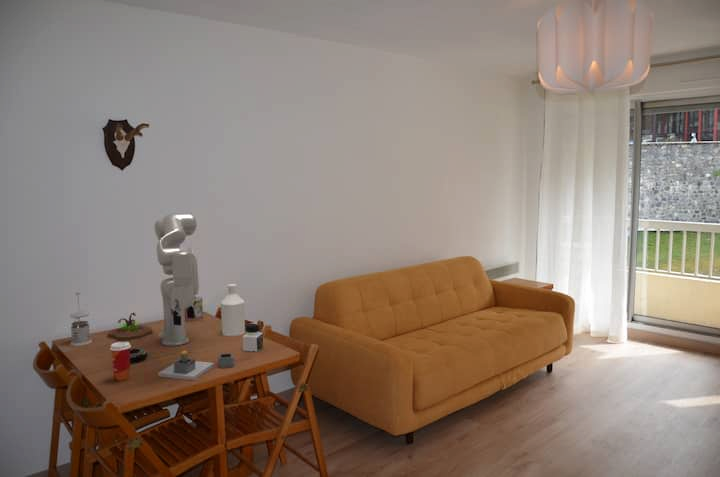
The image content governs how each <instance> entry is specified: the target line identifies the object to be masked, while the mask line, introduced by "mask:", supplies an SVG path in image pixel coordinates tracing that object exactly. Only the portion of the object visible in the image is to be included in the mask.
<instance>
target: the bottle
mask: <svg viewBox="0 0 720 477" xmlns="http://www.w3.org/2000/svg"><path fill="white" fill-rule="evenodd" d="M237 287H238V285H237V284H235V283H231V284H227V290H228V291H227V292H228V294H227V295H226V296H225V297H224V299H222V300H221V302H220V315H221V317H220V318H221V334H222V336H226V337H238V336H243V335H245V334H246V321H245V320H246V317H245V314H246V312H245V311H246V310H245V307H246V306H245V303H246V302H245V300H244V299H243V298H242V297H240V295H239V294H238V293H237Z"/></svg>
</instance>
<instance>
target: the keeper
mask: <svg viewBox="0 0 720 477" xmlns="http://www.w3.org/2000/svg"><path fill="white" fill-rule="evenodd" d="M180 359H181V363H187V362H188V360H187V359H188V351H187V350H182V351H180ZM214 367H215V363H214V362H206V361H200V360H199V361H198V360H197V361H196V360H195V369H194V370H193V371H191V372H189V373H188V374H183V373H174V363H173V364H171V365H169V366H168V367H166V368H164V369H163V370H161V371H159V372H157V377H159V378H169V379H177V380H178V379H179V380H185V381H187V380H188V381H195V380H196V379H198V378H199V377H201V376H202V375H203V374H205V373H206V372H208V371H210V370H212V369H213V368H214Z"/></svg>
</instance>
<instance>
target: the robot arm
mask: <svg viewBox="0 0 720 477" xmlns="http://www.w3.org/2000/svg"><path fill="white" fill-rule="evenodd" d="M195 216H196V215H194V214H193V213H190V212H189V213H186V212H184V213H170V214H167V215H165V216H164V218H161V219H158V220H156V221H155V222H154V232H155V235H156V238H157V240H158V242H157V245H156V254H157V262H158V263H159V265H160V266H161V267H162V271H163V273H164V275H168V276H172V277H169V278H165V279H163V280H162V281H161V282H160V285H159V286H160V292H161V299H162V305H163V325H164V328H163V329H164V331H162V332H161V331H160V332H159V333H158V338H162V340H161V345H163V346H167V347H176V346H181V345H185V344H187V343H189V342H190V338H189V337H188V336H186V322H185V312H184V309H186V308H187V318H193V319H194V318H195V313H194V309H195V304H196V302H195V301H196V297H197V295H198V294H199V291H200V286H199V285H200V282H199V268H198V261H197V257H196V256H195V253H194V252H195V251H193V249H192V248H191V247H187V246H184V247H183V246H181V245H182V244H183V243H185V241H186V237H189V236H192V235H193V234H194V233H195V231H197V226H198V223H197V219H196V217H195ZM188 308H189V309H188Z"/></svg>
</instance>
